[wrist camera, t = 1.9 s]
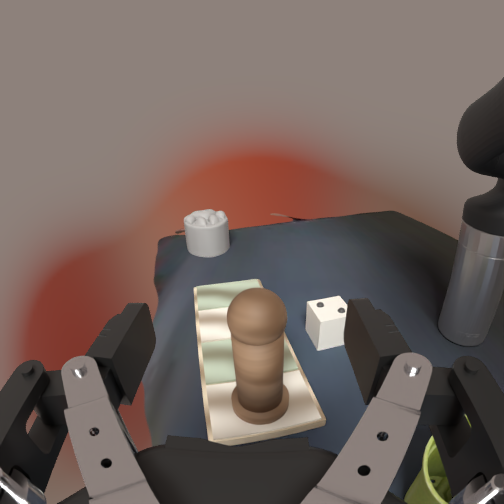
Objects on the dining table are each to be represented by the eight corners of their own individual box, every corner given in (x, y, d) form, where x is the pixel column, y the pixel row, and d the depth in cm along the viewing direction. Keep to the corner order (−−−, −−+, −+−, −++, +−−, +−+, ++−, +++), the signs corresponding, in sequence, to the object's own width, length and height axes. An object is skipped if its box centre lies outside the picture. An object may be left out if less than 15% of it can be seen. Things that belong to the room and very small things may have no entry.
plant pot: (461, 454, 20) (501, 403, 16) (479, 525, 11) (535, 486, 8) (382, 472, 21) (412, 424, 17) (389, 554, 12) (434, 531, 9)
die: (305, 330, 43) (307, 299, 41) (335, 323, 44) (339, 293, 42) (317, 351, 39) (321, 319, 37) (350, 343, 40) (355, 311, 38)
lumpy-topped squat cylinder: (223, 235, 82) (220, 204, 79) (235, 253, 71) (233, 217, 67) (185, 241, 80) (181, 210, 76) (191, 260, 68) (186, 224, 65)
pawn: (250, 376, 33) (243, 269, 28) (298, 393, 30) (305, 282, 25) (221, 410, 29) (202, 300, 23) (272, 433, 26) (271, 321, 20)
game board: (194, 293, 54) (193, 286, 54) (259, 285, 56) (259, 278, 56) (210, 448, 25) (208, 441, 25) (324, 425, 27) (326, 417, 27)
